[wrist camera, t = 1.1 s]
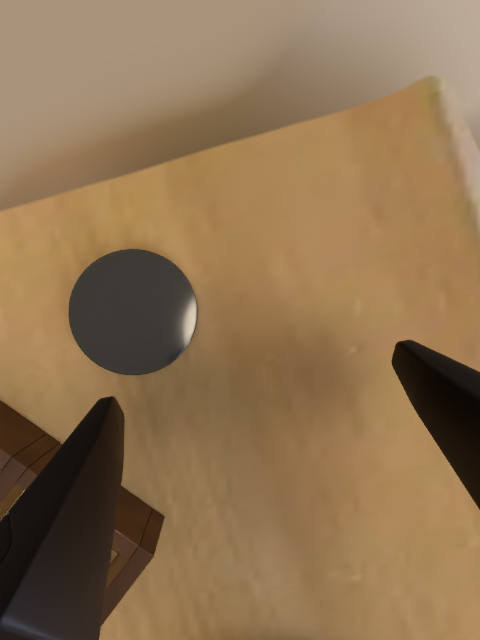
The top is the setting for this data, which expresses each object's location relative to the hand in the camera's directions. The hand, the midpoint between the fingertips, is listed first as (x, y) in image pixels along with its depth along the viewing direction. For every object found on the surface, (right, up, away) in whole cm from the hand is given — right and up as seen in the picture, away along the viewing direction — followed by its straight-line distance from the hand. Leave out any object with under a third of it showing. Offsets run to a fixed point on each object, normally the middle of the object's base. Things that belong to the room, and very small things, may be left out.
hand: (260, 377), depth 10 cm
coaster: (-9, +2, +14) cm, 17 cm away
